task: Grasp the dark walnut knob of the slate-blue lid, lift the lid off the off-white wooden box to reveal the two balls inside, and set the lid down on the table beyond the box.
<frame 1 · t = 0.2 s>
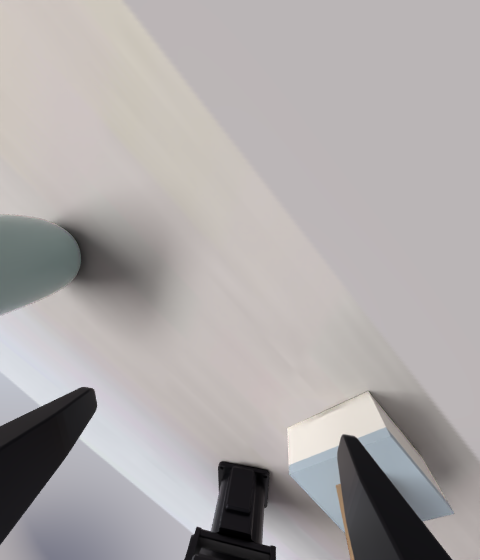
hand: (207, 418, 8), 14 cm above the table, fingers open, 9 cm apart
cup: (63, 250, 24), on the table
box: (351, 441, 25), on the table
lid: (364, 482, 21), point 4 cm above the table, touching box
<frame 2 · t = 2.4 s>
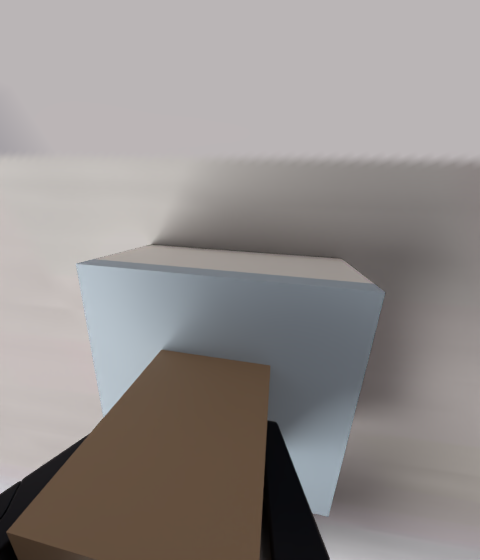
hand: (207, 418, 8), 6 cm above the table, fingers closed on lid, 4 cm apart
box: (236, 336, 13), on the table
lid: (218, 386, 9), point 4 cm above the table, touching box, gripper
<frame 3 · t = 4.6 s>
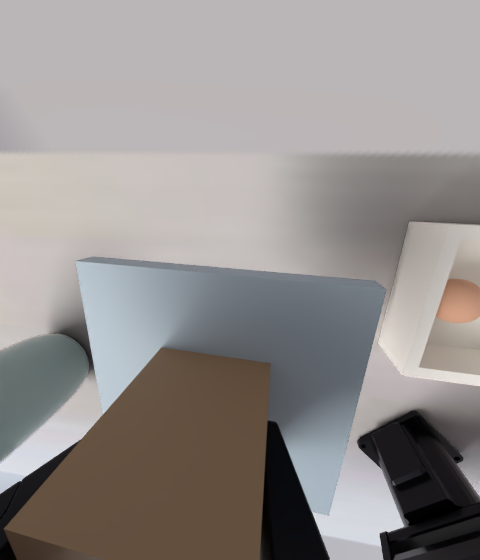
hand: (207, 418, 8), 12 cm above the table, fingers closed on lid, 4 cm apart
cup: (71, 352, 26), on the table
ball terracotta: (439, 293, 17), resting on box
box: (464, 293, 17), on the table
lid: (218, 384, 9), point 11 cm above the table, touching gripper
when the fingers open (3 cm above the table, at t = 6.6 s): lid drops 2 cm, on the table.
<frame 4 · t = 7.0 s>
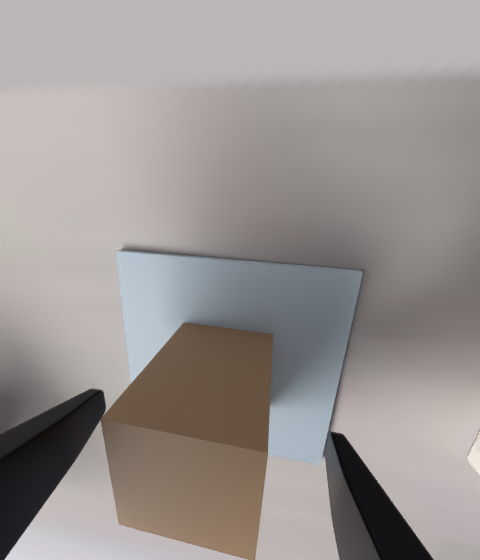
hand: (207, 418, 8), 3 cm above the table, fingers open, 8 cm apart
lid: (229, 355, 11), on the table
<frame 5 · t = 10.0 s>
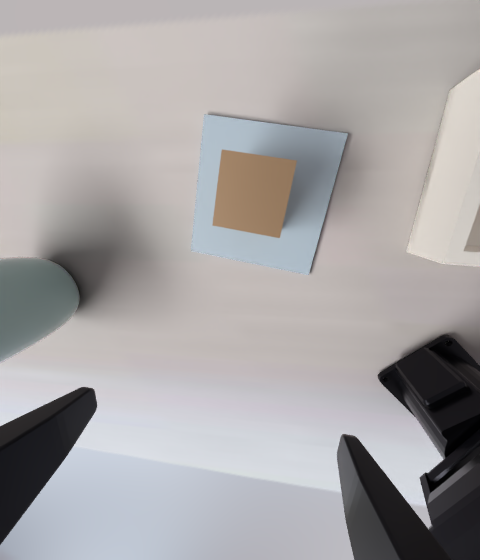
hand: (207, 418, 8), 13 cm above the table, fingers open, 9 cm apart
cup: (60, 286, 23), on the table
lid: (260, 200, 18), on the table
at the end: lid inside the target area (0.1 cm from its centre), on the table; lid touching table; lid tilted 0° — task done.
